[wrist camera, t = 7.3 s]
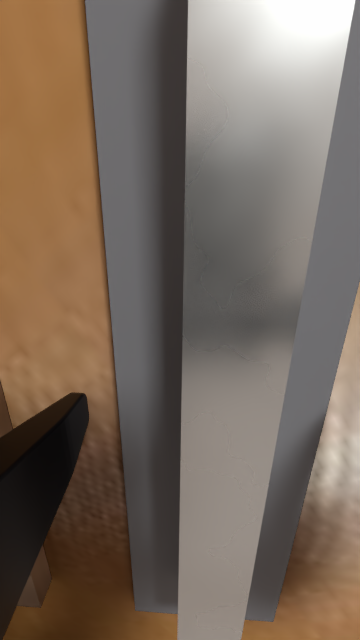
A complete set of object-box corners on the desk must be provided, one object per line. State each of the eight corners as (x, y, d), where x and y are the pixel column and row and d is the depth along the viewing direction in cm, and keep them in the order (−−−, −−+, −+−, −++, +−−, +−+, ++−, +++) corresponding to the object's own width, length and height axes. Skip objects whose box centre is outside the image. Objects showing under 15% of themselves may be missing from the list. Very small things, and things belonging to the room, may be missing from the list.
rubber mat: (270, 606, 16) (273, 621, 15) (137, 596, 16) (135, 610, 16) (501, -364, 5) (539, -434, 4) (68, -332, 5) (52, -396, 5)
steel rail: (232, 583, 14) (238, 656, 12) (180, 579, 14) (177, 650, 12) (327, -116, 6) (412, -317, 3) (195, -111, 6) (193, -303, 3)
